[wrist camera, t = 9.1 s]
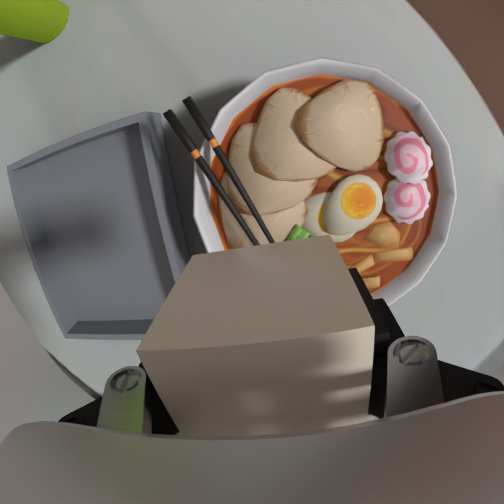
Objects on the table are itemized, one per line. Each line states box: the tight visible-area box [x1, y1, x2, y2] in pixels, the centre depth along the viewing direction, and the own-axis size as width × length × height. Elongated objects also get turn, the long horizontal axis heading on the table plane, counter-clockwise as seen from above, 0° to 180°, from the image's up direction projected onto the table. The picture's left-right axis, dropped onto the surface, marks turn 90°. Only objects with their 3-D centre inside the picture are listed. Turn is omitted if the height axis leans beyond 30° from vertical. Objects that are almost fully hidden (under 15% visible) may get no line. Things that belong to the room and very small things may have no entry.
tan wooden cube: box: [136, 235, 375, 436], centre depth 9 cm, size 5×5×6 cm
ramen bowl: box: [163, 58, 457, 306], centre depth 26 cm, size 25×23×8 cm
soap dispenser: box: [0, 0, 69, 43], centre depth 14 cm, size 6×7×20 cm
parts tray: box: [7, 112, 190, 340], centre depth 32 cm, size 20×24×4 cm
